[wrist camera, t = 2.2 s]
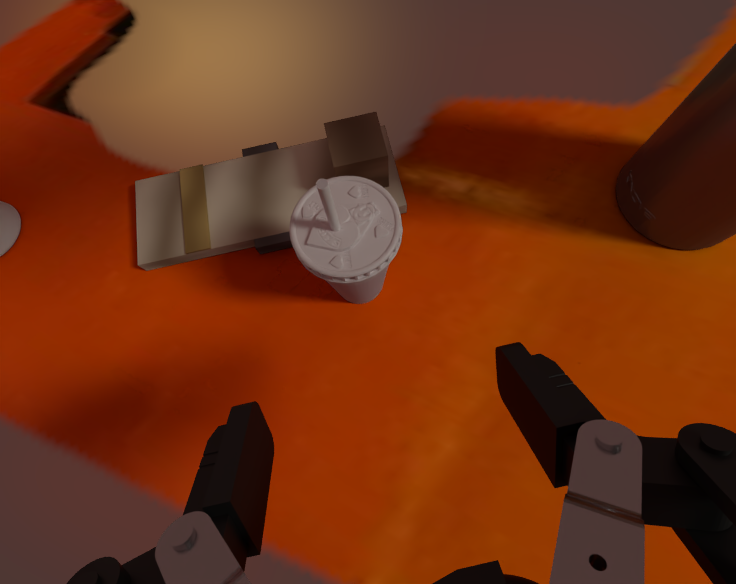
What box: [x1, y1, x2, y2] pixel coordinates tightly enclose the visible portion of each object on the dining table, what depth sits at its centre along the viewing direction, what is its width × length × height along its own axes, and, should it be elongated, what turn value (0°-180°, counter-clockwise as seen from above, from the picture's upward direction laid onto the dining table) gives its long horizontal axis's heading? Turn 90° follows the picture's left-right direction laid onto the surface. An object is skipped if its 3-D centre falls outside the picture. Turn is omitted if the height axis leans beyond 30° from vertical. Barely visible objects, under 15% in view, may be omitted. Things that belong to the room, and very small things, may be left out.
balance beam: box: [135, 112, 407, 271], centre depth 31 cm, size 22×10×5 cm, turn 102°
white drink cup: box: [289, 176, 403, 304], centre depth 24 cm, size 6×6×14 cm
